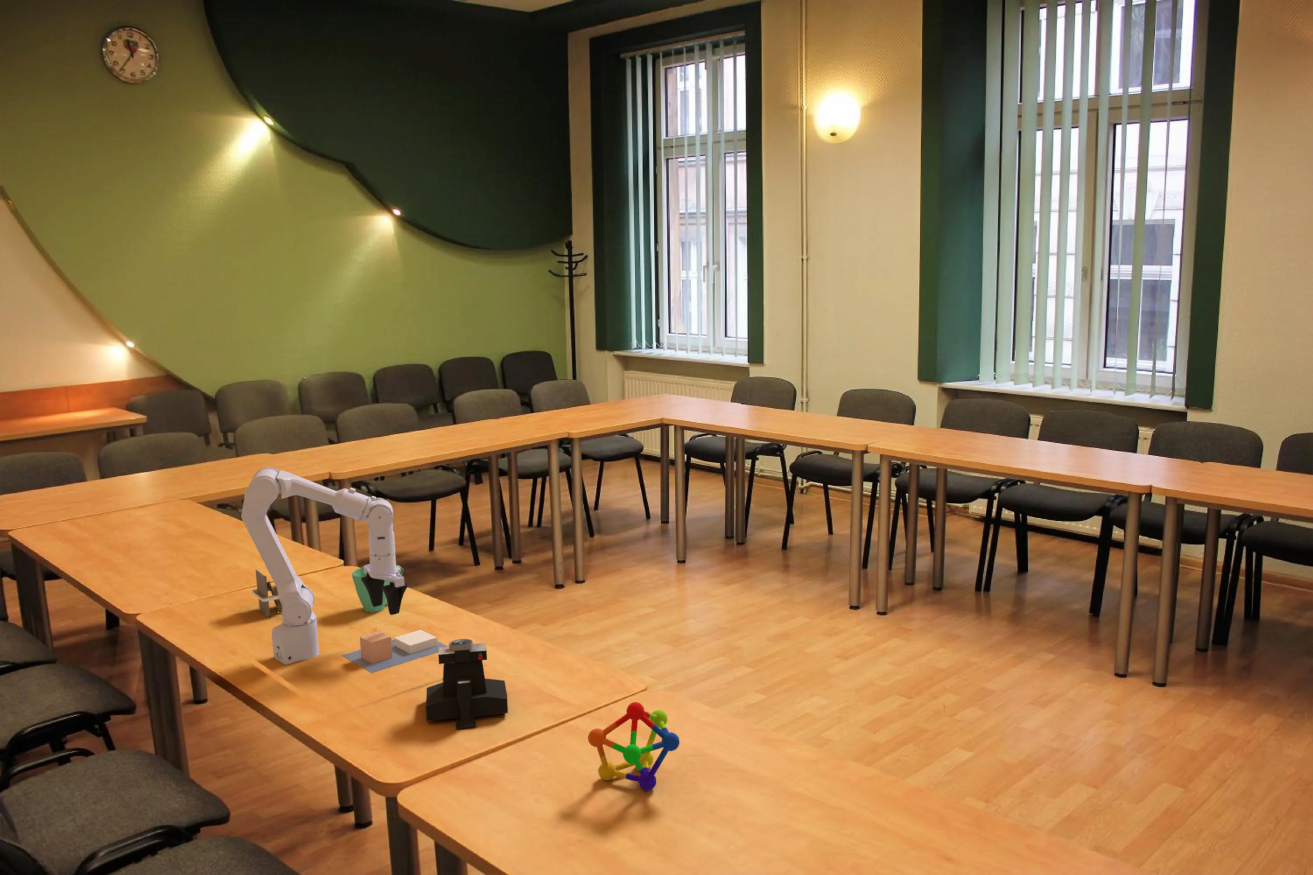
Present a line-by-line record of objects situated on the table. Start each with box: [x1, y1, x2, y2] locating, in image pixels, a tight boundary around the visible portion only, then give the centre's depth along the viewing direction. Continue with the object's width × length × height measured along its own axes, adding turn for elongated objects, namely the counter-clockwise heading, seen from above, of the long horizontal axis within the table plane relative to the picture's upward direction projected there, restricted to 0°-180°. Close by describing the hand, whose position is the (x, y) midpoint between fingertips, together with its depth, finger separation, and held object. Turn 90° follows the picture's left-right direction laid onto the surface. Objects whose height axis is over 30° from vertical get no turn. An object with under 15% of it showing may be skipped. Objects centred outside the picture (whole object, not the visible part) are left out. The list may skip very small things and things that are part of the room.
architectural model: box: [251, 569, 282, 618], centre depth 278 cm, size 19×17×11 cm
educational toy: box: [587, 701, 681, 792], centre depth 189 cm, size 16×13×15 cm
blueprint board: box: [341, 629, 447, 674], centre depth 248 cm, size 20×14×3 cm
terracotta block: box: [359, 630, 392, 664], centre depth 244 cm, size 5×5×5 cm
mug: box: [351, 564, 405, 613], centre depth 280 cm, size 15×10×10 cm
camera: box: [425, 638, 509, 730], centre depth 218 cm, size 16×14×15 cm
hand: (385, 609), depth 250 cm, fingers open, 7 cm apart
